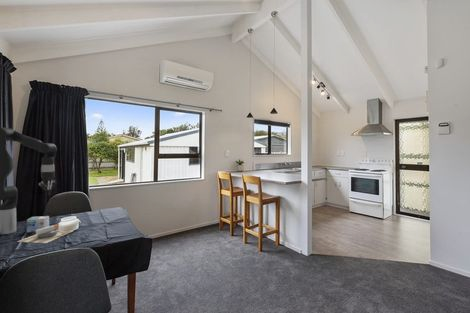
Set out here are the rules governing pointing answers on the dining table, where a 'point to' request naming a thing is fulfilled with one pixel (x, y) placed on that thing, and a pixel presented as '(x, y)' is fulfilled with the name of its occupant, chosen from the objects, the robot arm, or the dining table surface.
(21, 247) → the dining table surface
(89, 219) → the dining table surface
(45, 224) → the light bulb box
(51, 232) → the dial
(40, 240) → the panel
